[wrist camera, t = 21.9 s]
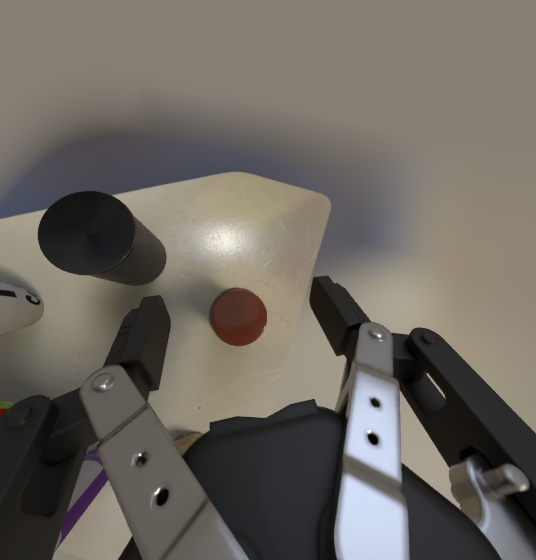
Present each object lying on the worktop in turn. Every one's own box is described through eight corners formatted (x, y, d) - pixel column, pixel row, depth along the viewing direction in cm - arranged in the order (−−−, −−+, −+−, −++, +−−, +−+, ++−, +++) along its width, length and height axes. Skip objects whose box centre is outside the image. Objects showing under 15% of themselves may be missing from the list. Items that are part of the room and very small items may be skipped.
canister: (211, 321, 35) (199, 326, 23) (232, 289, 36) (232, 279, 24) (243, 341, 35) (248, 356, 23) (263, 309, 36) (277, 308, 25)
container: (105, 488, 30) (-16, 657, 15) (73, 476, 30) (-84, 638, 15) (123, 453, 31) (24, 581, 16) (92, 441, 31) (-38, 562, 16)
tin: (90, 265, 34) (15, 241, 22) (130, 219, 36) (80, 174, 24) (143, 298, 34) (96, 291, 23) (179, 251, 36) (153, 222, 25)
